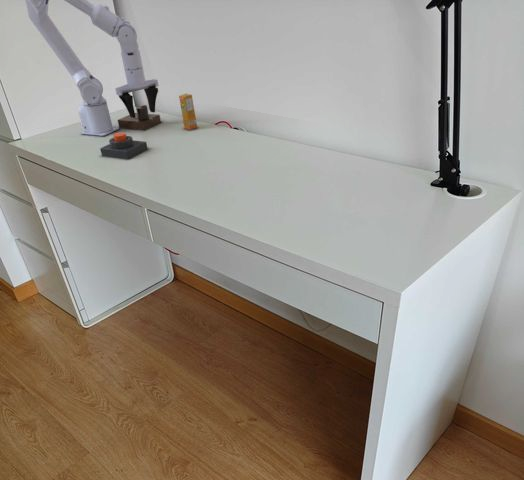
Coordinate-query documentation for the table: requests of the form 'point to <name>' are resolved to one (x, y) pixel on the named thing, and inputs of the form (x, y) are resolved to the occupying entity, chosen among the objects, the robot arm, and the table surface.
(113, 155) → the switch block
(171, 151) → the table surface
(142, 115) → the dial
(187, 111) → the supplement box
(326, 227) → the table surface
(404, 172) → the table surface
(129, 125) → the brown wooden block
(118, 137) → the button
